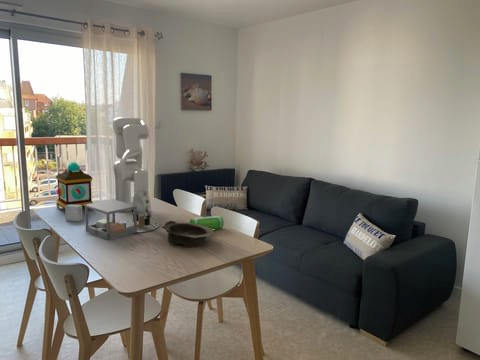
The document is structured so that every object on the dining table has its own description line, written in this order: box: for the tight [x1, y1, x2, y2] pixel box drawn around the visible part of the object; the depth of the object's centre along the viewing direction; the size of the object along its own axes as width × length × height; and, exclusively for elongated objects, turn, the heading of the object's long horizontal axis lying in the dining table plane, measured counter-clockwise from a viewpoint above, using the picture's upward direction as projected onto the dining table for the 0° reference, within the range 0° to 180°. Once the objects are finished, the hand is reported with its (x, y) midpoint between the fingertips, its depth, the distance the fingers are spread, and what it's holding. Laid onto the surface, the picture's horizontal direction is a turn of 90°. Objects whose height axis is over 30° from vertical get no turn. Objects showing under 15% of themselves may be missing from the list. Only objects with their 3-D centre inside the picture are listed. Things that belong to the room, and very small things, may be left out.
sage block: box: [95, 218, 113, 229], centre depth 193 cm, size 6×6×5 cm
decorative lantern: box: [55, 161, 94, 210], centre depth 228 cm, size 20×20×30 cm
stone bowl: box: [161, 220, 214, 248], centre depth 180 cm, size 25×25×9 cm
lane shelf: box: [84, 199, 138, 241], centre depth 190 cm, size 17×20×14 cm
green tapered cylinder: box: [189, 215, 224, 230], centre depth 200 cm, size 18×7×8 cm, turn 115°
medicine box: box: [64, 205, 83, 223], centre depth 207 cm, size 8×4×9 cm, turn 84°
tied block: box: [110, 215, 146, 233], centre depth 193 cm, size 20×6×6 cm, turn 143°
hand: (141, 223), depth 200 cm, fingers open, 9 cm apart
